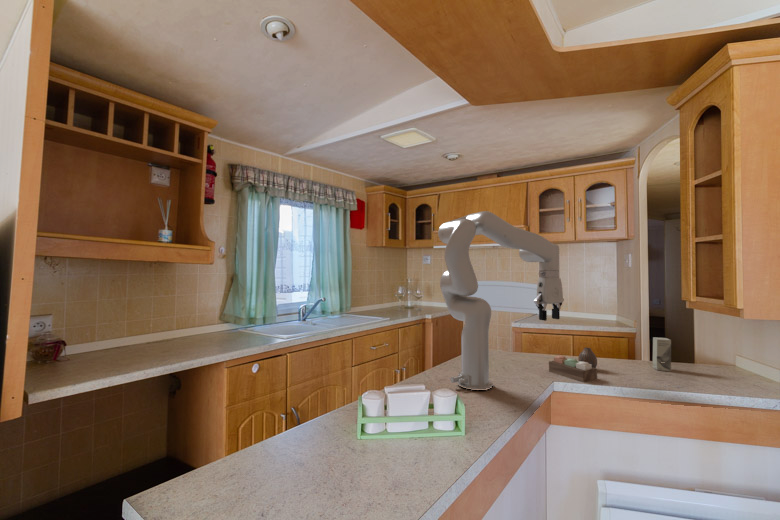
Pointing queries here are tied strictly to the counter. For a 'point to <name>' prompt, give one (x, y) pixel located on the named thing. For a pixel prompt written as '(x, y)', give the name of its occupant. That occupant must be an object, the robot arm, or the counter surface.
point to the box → (662, 354)
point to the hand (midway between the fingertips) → (549, 319)
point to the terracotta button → (560, 359)
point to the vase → (588, 357)
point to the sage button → (571, 362)
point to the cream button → (583, 365)
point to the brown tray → (573, 372)
